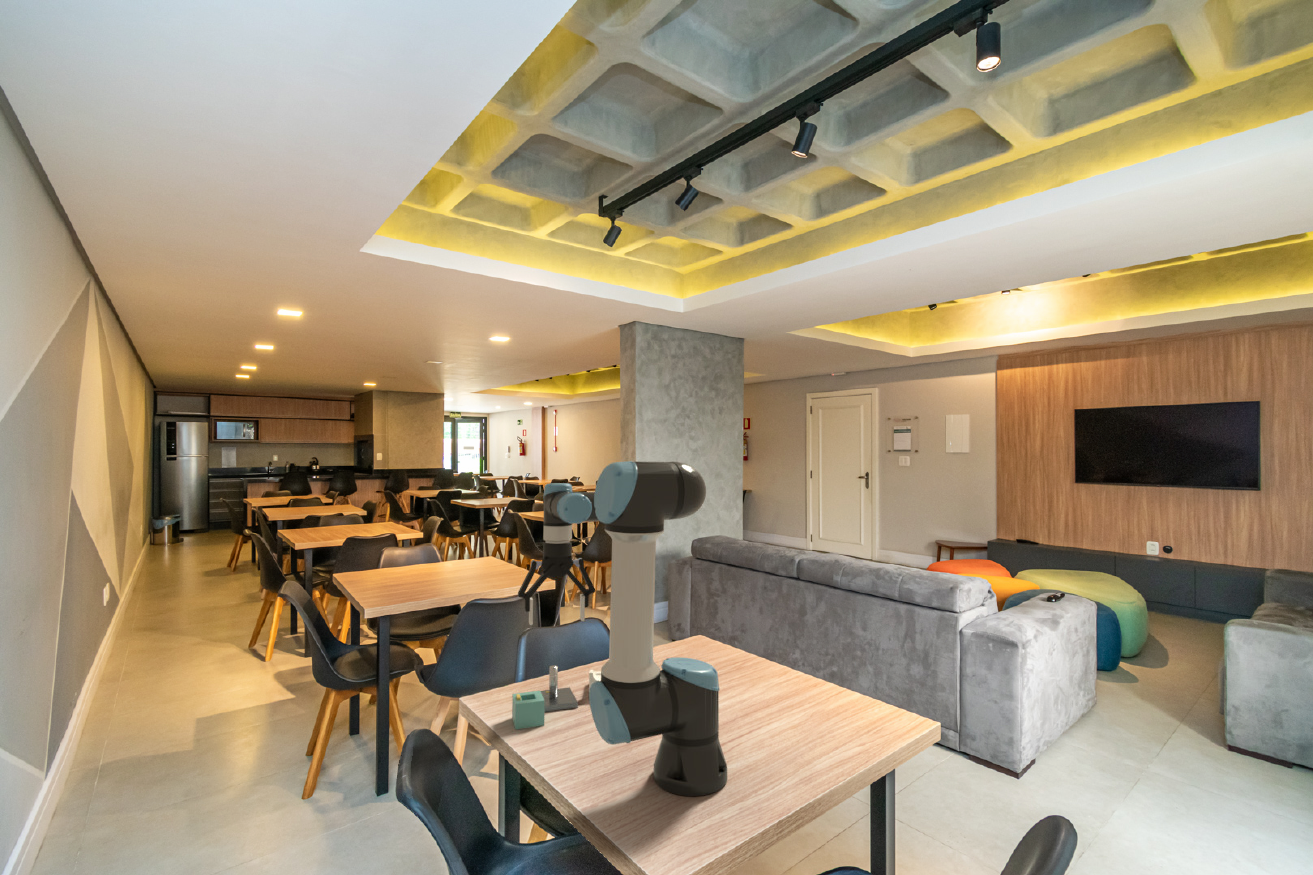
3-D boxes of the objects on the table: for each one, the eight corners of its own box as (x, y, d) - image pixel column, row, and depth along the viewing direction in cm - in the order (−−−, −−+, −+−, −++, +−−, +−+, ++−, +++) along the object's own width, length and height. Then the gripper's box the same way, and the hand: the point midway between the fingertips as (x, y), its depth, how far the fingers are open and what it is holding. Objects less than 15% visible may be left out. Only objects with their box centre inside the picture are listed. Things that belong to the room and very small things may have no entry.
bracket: (615, 700, 165) (615, 672, 166) (589, 700, 165) (589, 672, 165) (617, 683, 178) (617, 657, 179) (592, 683, 178) (593, 657, 178)
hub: (544, 725, 149) (544, 697, 149) (515, 729, 147) (515, 701, 147) (540, 714, 156) (540, 688, 156) (512, 717, 153) (512, 691, 154)
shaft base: (577, 707, 160) (577, 670, 160) (535, 713, 156) (535, 675, 157) (569, 692, 170) (569, 658, 171) (529, 697, 167) (530, 662, 167)
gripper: (600, 537, 169) (599, 614, 168) (508, 541, 161) (507, 621, 161) (606, 541, 162) (605, 621, 161) (510, 544, 154) (509, 629, 153)
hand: (556, 621), depth 161 cm, fingers open, 13 cm apart
